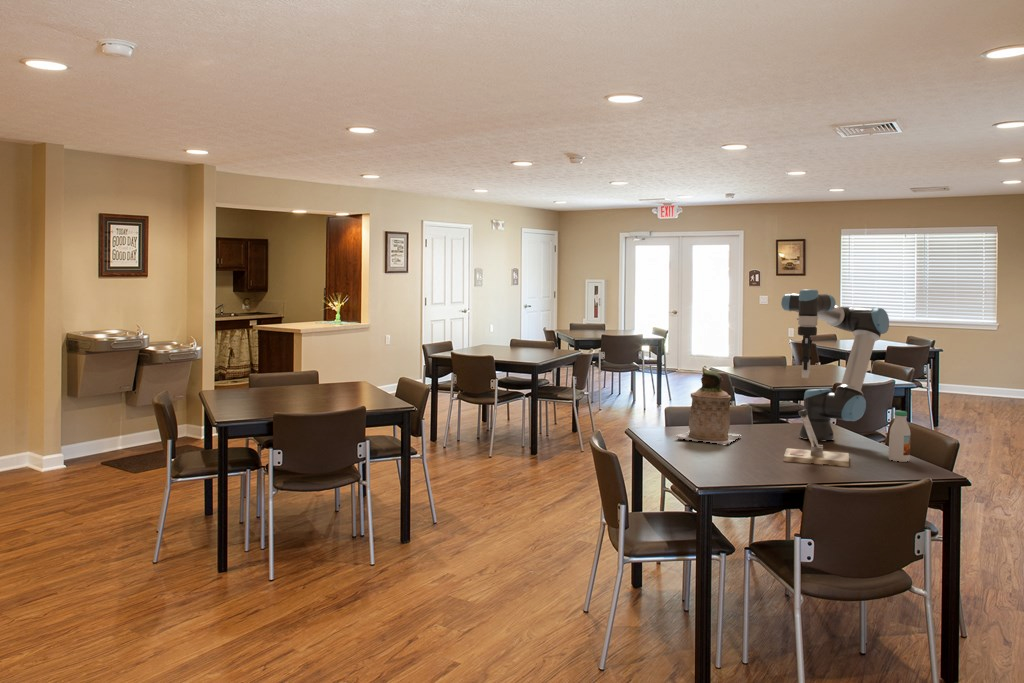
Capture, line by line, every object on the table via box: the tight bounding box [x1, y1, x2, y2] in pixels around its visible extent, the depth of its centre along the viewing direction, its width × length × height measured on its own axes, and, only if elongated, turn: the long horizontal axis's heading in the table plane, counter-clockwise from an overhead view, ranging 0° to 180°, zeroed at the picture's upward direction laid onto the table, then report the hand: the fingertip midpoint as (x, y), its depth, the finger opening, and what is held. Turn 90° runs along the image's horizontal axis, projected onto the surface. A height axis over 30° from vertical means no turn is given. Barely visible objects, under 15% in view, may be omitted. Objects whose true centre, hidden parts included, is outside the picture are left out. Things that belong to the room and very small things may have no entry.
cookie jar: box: [675, 368, 742, 445], centre depth 368 cm, size 25×25×32 cm
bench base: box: [783, 444, 850, 468], centre depth 327 cm, size 24×18×6 cm
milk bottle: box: [887, 410, 911, 463], centre depth 327 cm, size 8×8×20 cm
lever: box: [798, 408, 820, 447], centre depth 327 cm, size 3×3×18 cm
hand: (805, 376), depth 343 cm, fingers open, 13 cm apart
